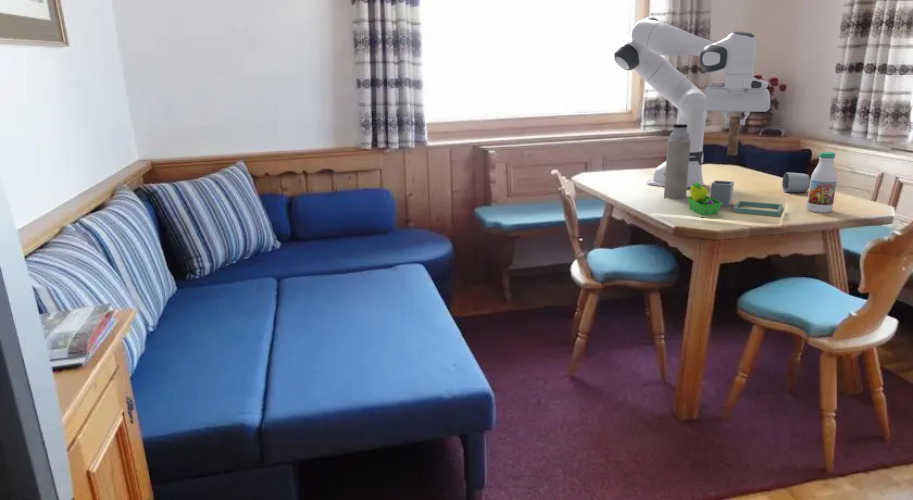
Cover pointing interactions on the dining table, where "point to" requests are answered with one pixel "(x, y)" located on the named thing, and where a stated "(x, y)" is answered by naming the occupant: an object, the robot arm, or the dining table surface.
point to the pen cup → (722, 192)
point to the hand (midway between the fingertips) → (734, 125)
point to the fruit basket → (702, 201)
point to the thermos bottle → (677, 163)
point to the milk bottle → (822, 184)
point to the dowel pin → (733, 135)
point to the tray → (756, 211)
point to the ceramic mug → (795, 182)
